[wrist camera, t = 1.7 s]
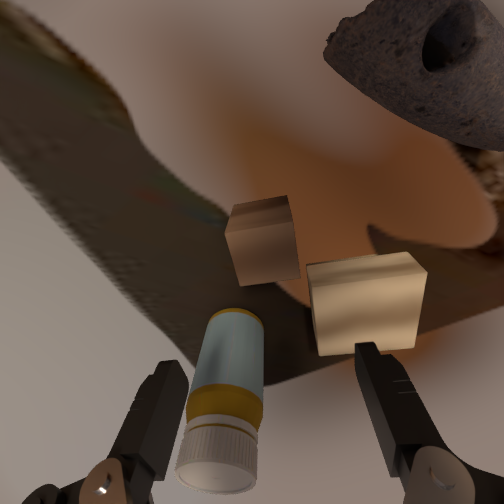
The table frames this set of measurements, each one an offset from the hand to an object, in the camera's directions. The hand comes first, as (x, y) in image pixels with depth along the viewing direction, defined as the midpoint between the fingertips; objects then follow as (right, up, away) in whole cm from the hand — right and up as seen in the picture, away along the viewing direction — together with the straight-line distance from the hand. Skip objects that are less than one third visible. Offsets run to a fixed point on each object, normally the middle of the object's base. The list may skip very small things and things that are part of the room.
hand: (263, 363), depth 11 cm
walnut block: (+1, +8, +13) cm, 15 cm away
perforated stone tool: (+11, +17, +7) cm, 22 cm away
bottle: (-2, -4, +20) cm, 21 cm away
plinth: (+11, 0, +17) cm, 20 cm away
